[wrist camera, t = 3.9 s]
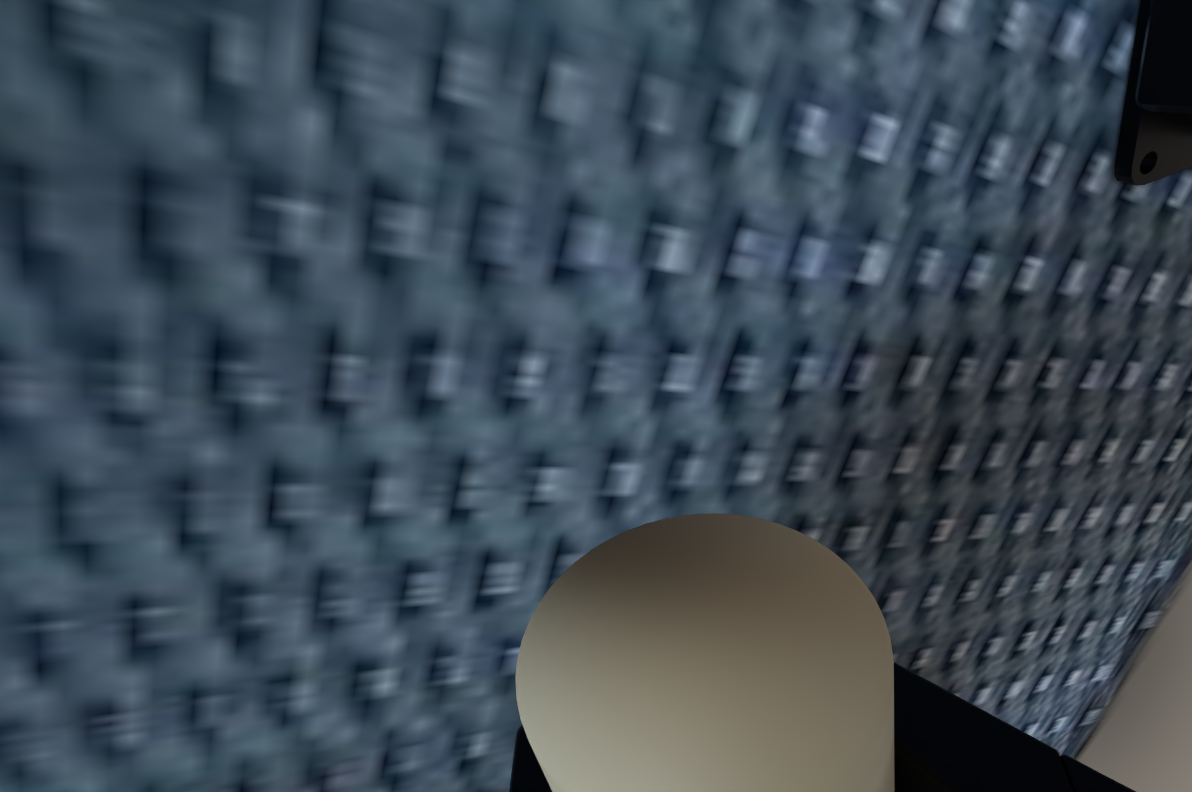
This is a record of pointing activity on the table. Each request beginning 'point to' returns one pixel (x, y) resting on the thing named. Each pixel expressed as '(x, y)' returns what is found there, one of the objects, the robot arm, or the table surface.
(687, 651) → the rod
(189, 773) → the table surface
